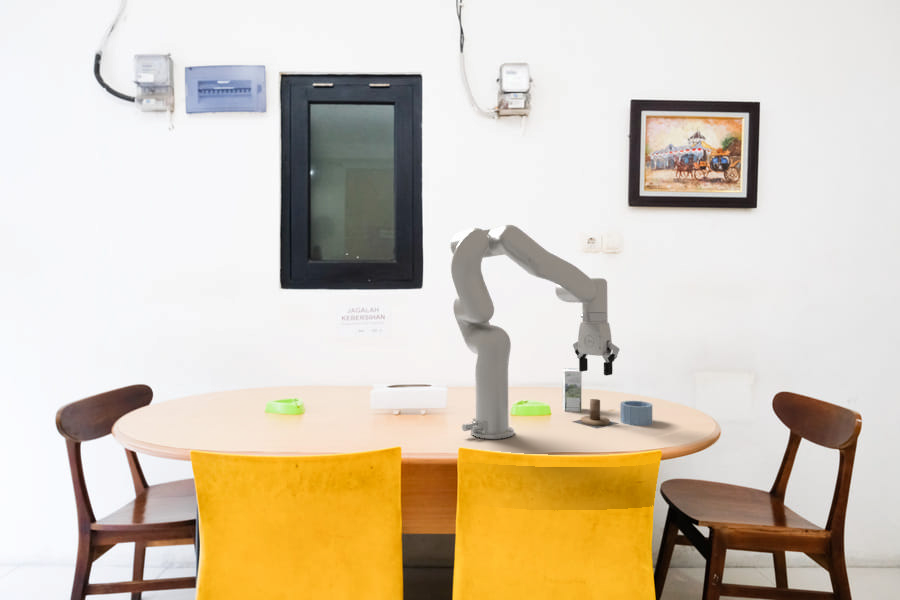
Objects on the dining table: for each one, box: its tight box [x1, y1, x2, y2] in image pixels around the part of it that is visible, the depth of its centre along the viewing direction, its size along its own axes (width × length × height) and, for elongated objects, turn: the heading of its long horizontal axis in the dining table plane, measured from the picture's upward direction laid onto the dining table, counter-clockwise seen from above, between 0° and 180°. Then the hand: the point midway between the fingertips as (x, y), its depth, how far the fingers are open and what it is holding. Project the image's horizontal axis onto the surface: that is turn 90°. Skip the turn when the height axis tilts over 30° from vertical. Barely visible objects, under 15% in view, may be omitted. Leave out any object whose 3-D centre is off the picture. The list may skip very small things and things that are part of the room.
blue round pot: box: [620, 400, 653, 427], centre depth 165 cm, size 9×9×6 cm
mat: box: [571, 419, 619, 429], centre depth 165 cm, size 10×10×1 cm
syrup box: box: [562, 367, 583, 413], centre depth 182 cm, size 6×6×14 cm
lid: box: [580, 398, 611, 426], centre depth 165 cm, size 9×9×7 cm
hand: (595, 372), depth 165 cm, fingers open, 9 cm apart
